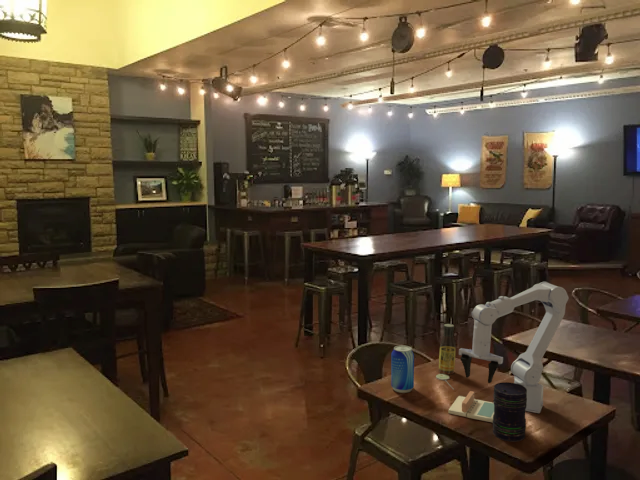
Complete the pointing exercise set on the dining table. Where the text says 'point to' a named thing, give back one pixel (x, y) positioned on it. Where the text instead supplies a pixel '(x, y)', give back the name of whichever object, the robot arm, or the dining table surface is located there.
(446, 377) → the dial probe thermometer
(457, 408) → the cream and brown block
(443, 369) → the sauce bottle
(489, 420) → the cream teal notepad
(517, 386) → the storage jar
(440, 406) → the dining table surface
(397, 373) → the beer can
